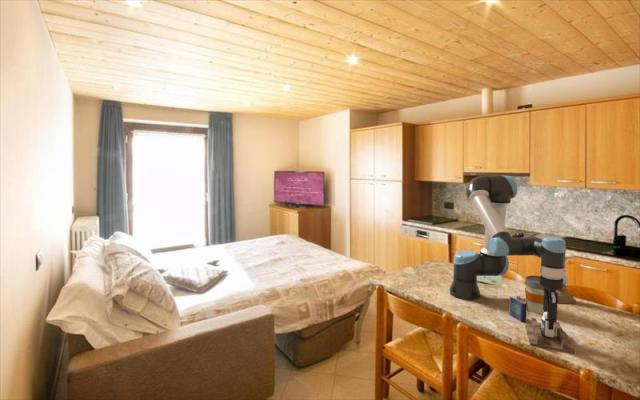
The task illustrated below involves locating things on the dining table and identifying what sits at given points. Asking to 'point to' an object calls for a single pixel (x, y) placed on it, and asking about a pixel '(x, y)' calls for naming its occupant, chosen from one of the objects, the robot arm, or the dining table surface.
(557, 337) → the clip stand
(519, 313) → the dark blue upright block
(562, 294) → the candle holder
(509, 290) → the dining table surface
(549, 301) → the robot arm
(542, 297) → the reusable coffee cup
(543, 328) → the pill bottle
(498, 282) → the green board with pegs
